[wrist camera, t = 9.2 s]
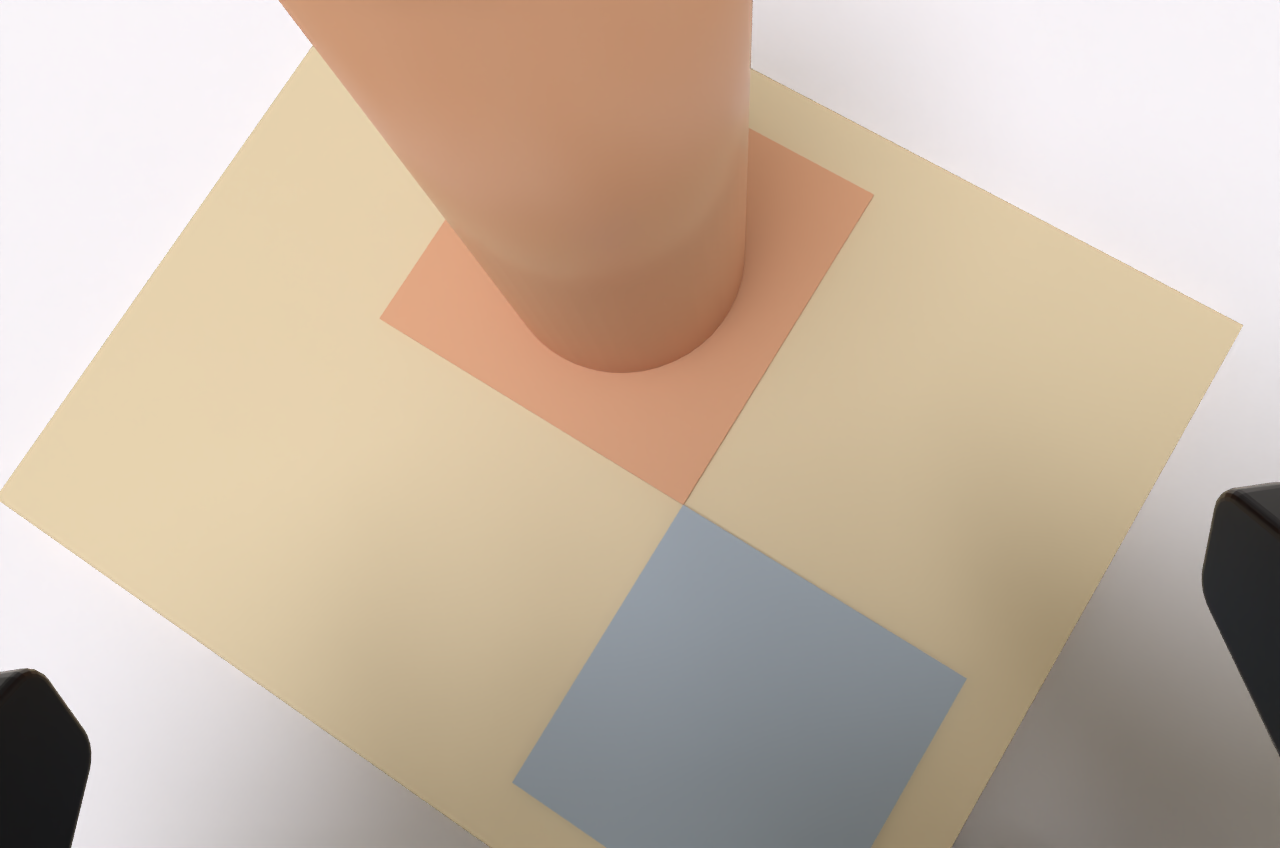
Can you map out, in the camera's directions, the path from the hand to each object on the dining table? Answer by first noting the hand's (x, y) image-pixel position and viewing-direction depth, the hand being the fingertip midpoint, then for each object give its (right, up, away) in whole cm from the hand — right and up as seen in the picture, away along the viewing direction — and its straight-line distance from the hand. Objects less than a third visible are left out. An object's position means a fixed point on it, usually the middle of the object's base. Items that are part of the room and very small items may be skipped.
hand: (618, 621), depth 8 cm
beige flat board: (-1, +2, +9) cm, 9 cm away
